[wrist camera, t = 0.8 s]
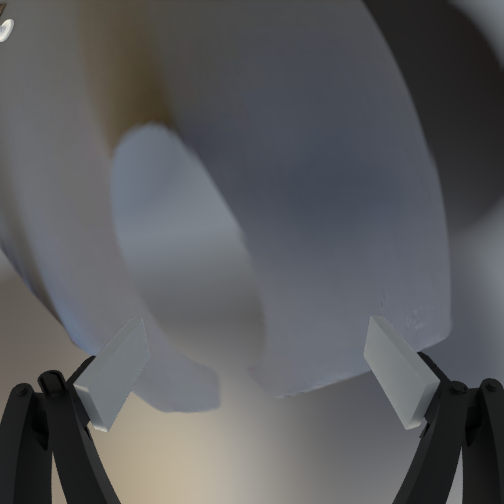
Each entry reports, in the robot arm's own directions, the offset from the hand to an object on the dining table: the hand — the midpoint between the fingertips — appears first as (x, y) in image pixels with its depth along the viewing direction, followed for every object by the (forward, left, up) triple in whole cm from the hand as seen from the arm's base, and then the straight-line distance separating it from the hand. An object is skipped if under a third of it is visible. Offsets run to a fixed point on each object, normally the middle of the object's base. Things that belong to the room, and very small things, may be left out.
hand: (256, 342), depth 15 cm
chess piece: (-11, -59, -27) cm, 66 cm away
